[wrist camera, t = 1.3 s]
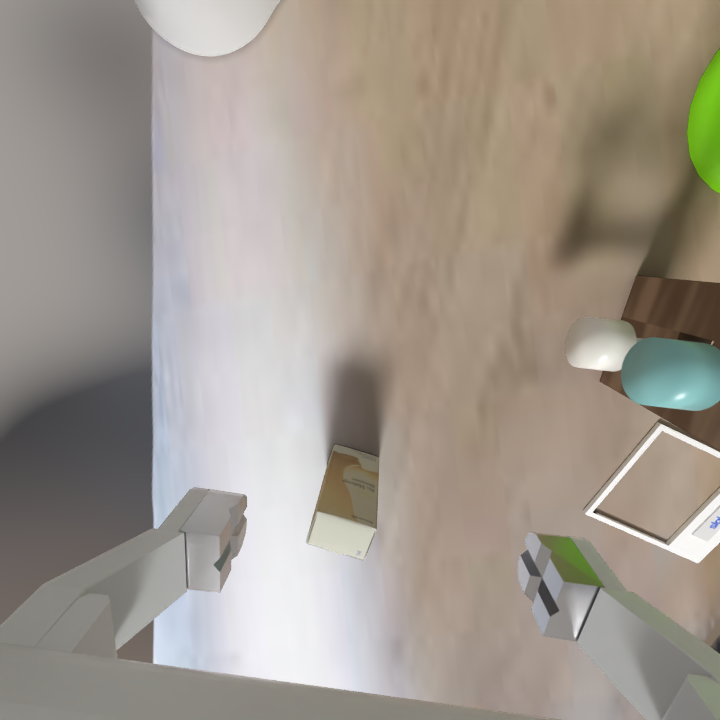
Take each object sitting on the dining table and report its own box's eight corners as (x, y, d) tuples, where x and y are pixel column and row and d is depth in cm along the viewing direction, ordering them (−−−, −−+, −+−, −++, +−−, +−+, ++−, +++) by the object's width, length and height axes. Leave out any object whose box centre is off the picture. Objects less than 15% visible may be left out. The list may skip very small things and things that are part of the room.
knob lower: (559, 358, 32) (587, 374, 28) (574, 312, 30) (605, 321, 26) (696, 374, 32) (744, 393, 27) (716, 328, 30) (770, 340, 26)
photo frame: (699, 564, 46) (585, 514, 44) (691, 557, 47) (580, 508, 45) (784, 483, 41) (662, 424, 40) (774, 477, 42) (654, 420, 41)
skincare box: (380, 456, 44) (381, 530, 32) (369, 483, 45) (367, 563, 33) (332, 442, 43) (316, 511, 32) (323, 469, 45) (304, 545, 33)
